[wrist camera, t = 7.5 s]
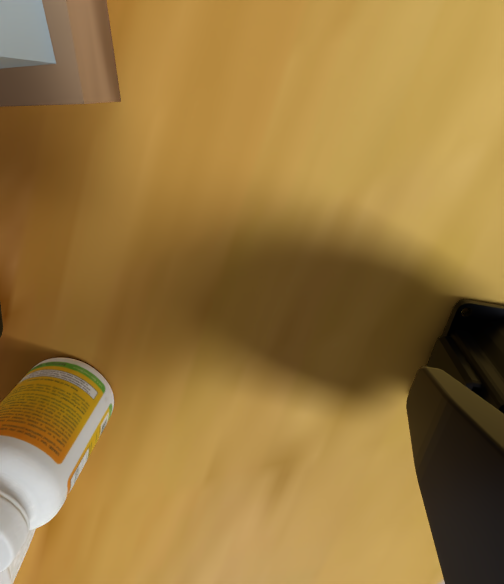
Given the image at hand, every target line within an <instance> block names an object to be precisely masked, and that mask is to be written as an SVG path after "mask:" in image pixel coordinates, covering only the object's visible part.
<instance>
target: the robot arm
mask: <svg viewBox="0 0 504 584" xmlns="http://www.w3.org/2000/svg"><path fill="white" fill-rule="evenodd" d="M464 308H469V310H468V311H467V312H465V313H461V311H462V310H463V309H464ZM2 331H3V322H2V313H1V304H0V337H1V335H2ZM406 408H407V415H408V422H409V429H410V436H411V443H412V450H413V457H414V464H415V469H416V475H417V479H418V483H419V487H420V491H421V494H422V498H423V502H424V506H425V510H426V513H427V517H428V521H429V525H430V528H431V532H432V536H433V540H434V543H435V547H436V551H437V555H438V559H439V562H440V566H441V570H442V574H443V577H444V581H445V584H504V306H502V305H496V304H491V303H485V302H479V301H473V300H461V301H459V302H457V303H456V304H455V306H454V308H453V310H452V313H451V315H450V318H449V320H448V323H447V325H446V328H445V330H444V333H443V335H442V336H440V337H439V338H438V339H437V341H436V344H435V346H434V349H433V352H432V354H431V357H430V359H429V362H428V364H427V367H426V366H423V367H421V368H420V369H419V370H418V372H417V374H416V377H415V379H414V382H413V384H412V387H411V390H410V392H409V395H408V398H407V404H406Z"/></svg>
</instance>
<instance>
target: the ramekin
mask: <svg viewBox="0 0 504 584" xmlns="http://www.w3.org/2000/svg"><path fill="white" fill-rule="evenodd" d="M35 529H36V528H35ZM35 529H33V530H29V533H28V536H27V539H26V541H25V543H24V544H23V545H22V547H21V549H20V550H19V552H18V553H17V555H16V557H15V558H14V560H13V561H12V563H11V564H10V565H9V567H8V568H6V569H5V570H3V571H1V572H0V584H13V582H14V579H15V577H16V575H17V573H18V571H19V569H20V566H21V564H22V562H23V559H24V557H25V555H26V552H27V550H28V548H29V545H30V543H31V540H32V538H33V535H34V533H35Z"/></svg>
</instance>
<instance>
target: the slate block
mask: <svg viewBox="0 0 504 584" xmlns="http://www.w3.org/2000/svg"><path fill="white" fill-rule="evenodd" d="M47 64H56V60H55V56H54V52H53V47H52V43H51V38H50V34H49V30H48V25H47V21H46V16H45V12H44V8H43V3H42V0H0V69H1V68H12V67H24V66H35V65H47Z"/></svg>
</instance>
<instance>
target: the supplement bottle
mask: <svg viewBox="0 0 504 584" xmlns="http://www.w3.org/2000/svg"><path fill="white" fill-rule="evenodd" d="M113 407H114V396H113V392H112V389H111V387H110V385H109V384H108V382H107V381H106V379H105V378H104V377H103V376H102V375H101V374H100V373H99V372H98V371H97V370H95V369H94V368H93V367H91V366H90V365H88V364H86V363H84V362H81V361H79V360H76V359H71V358H51V359H47V360H44V361H42V362H40V363H39V364H37V365H36V366H34V367H33V368H32V369H31V370H30V371H29V372H28V373H27V374H26V375H25V376H24V377H23V379H22V380H21V381H20V382H19V383H18V384H17V385H16V386H15V387H14V389H13V390H12V391H11V392H10V393H9V394H8V395H7V396H6V397H5V398H4V400H3V401H2V402H1V403H0V572H1V571H3V570H5V569H6V568H8V567H9V565H10V564H11V563H12V561H13V560H14V558H15V557H16V555H17V553H18V552H19V550H20V549H21V547H22V545H23V544H24V543H25V541H26V539H27V536H28V533H29V530H33V529H35V528H38V527H40V526H42V525H44V524H46V523H47V522H49V521H50V520H51V519H52V518H53V517H54V516H55V515H56V514H57V513H58V511H59V510H60V508H61V506H62V505H63V503H64V502H65V500H66V498H67V496H68V494H69V492H70V491H71V489H72V487H73V485H74V483H75V481H76V480H77V478H78V476H79V474H80V472H81V470H82V468H83V467H84V465H85V463H86V461H87V459H88V457H89V455H90V454H91V452H92V450H93V448H94V446H95V444H96V443H97V441H98V439H99V437H100V435H101V433H102V432H103V430H104V428H105V426H106V424H107V422H108V420H109V418H110V416H111V414H112V411H113Z"/></svg>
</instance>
